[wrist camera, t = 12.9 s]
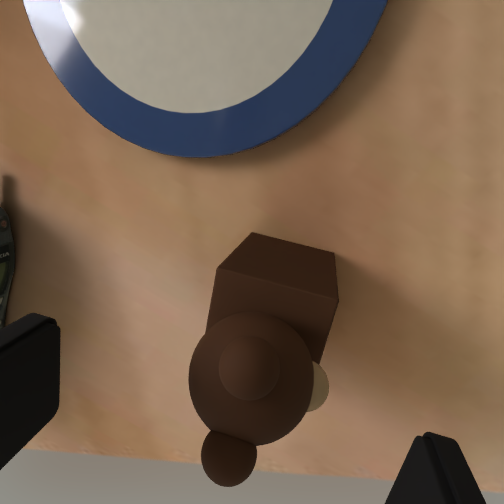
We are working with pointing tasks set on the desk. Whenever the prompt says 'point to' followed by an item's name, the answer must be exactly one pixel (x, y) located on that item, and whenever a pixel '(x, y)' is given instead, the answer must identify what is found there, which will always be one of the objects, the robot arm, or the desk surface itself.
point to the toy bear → (261, 350)
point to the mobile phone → (5, 263)
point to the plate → (202, 65)
